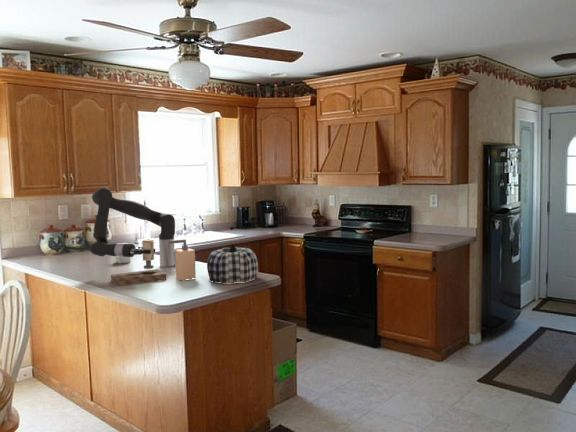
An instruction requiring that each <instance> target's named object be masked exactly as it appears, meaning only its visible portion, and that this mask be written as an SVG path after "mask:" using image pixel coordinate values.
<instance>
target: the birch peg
mask: <svg viewBox="0 0 576 432" xmlns="http://www.w3.org/2000/svg"><path fill="white" fill-rule="evenodd" d="M154 241H155V240H154V239H144V240H142V243H141V244H142V247H143V249H144V250H151V254H142V261H145V264H144V265H143V269H145V270H153V269H154V264H152V261H153V260H155V252H154V249H155V248H154V245H155V244H154V243H155V242H154Z"/></svg>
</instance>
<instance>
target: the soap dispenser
mask: <svg viewBox="0 0 576 432" xmlns="http://www.w3.org/2000/svg"><path fill="white" fill-rule="evenodd" d="M169 243H170V244H172V243H174V244H181V243H183V244H182V245H181V248H179V249H174V250H175V260H176V265H175V278H176V280H178V279H179V280H178V281H180V280H185V281H187V280H186V279H192V278H197V276H196V275H197V274H196V250H195V249H192V248H189V246H188V245H187V239H174V240H172V241H169Z"/></svg>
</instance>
